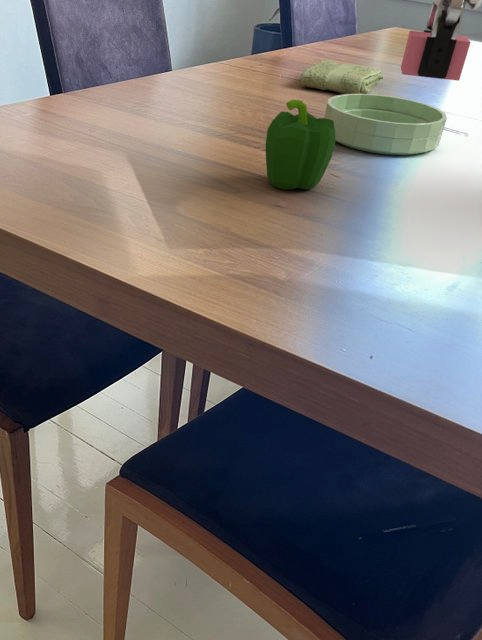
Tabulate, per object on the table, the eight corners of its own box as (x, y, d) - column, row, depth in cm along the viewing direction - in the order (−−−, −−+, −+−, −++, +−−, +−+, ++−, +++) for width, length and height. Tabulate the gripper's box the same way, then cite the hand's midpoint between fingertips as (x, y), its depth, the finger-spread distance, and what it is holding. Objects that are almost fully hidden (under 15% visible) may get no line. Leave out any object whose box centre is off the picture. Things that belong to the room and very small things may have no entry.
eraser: (455, 74, 88) (466, 36, 85) (459, 80, 85) (470, 42, 82) (400, 67, 89) (409, 30, 86) (402, 74, 86) (411, 35, 83)
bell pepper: (311, 174, 95) (327, 91, 89) (333, 196, 89) (353, 109, 83) (249, 173, 94) (262, 89, 88) (267, 196, 88) (283, 107, 81)
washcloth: (384, 82, 144) (388, 64, 142) (362, 99, 131) (367, 80, 129) (319, 72, 148) (323, 54, 146) (293, 87, 135) (296, 68, 133)
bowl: (433, 132, 116) (441, 102, 113) (440, 164, 103) (451, 130, 100) (324, 118, 119) (330, 88, 116) (318, 147, 105) (324, 114, 103)
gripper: (536, -120, 68) (470, 92, 80) (507, -119, 81) (454, 63, 93) (454, -127, 69) (400, 84, 81) (438, -124, 82) (394, 57, 94)
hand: (430, 71), depth 87 cm, fingers closed on eraser, 4 cm apart
